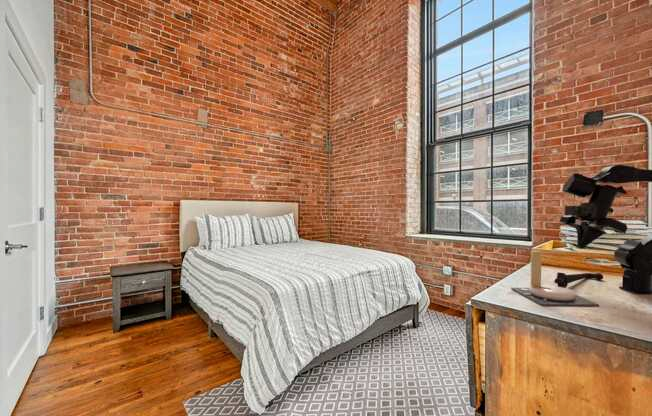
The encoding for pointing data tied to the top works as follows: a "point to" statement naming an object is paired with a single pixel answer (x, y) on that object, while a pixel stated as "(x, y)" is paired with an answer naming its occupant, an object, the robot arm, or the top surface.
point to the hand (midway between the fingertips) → (579, 248)
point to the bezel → (549, 302)
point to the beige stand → (546, 290)
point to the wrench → (574, 278)
